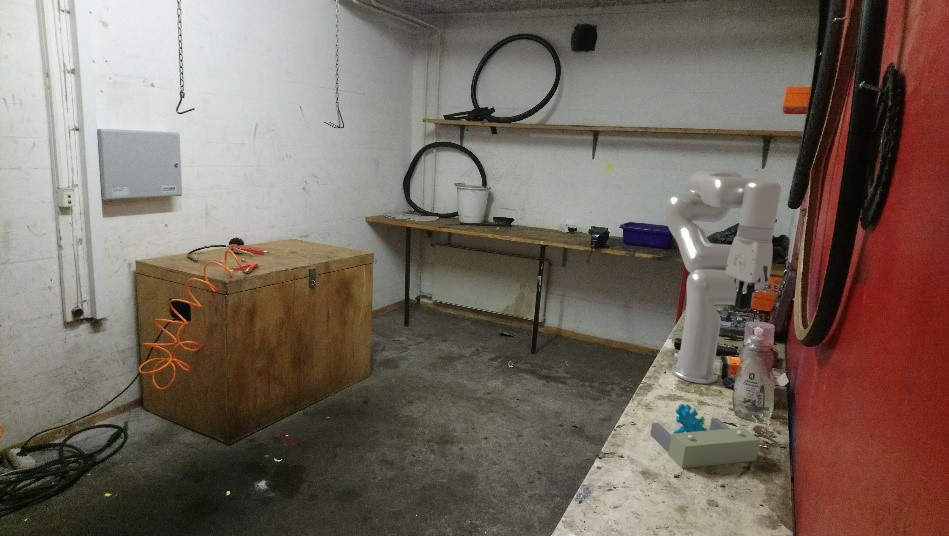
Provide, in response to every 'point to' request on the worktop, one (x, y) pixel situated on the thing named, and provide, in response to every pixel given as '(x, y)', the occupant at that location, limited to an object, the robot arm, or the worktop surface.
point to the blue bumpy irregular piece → (689, 420)
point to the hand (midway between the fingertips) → (742, 307)
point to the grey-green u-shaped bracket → (708, 445)
